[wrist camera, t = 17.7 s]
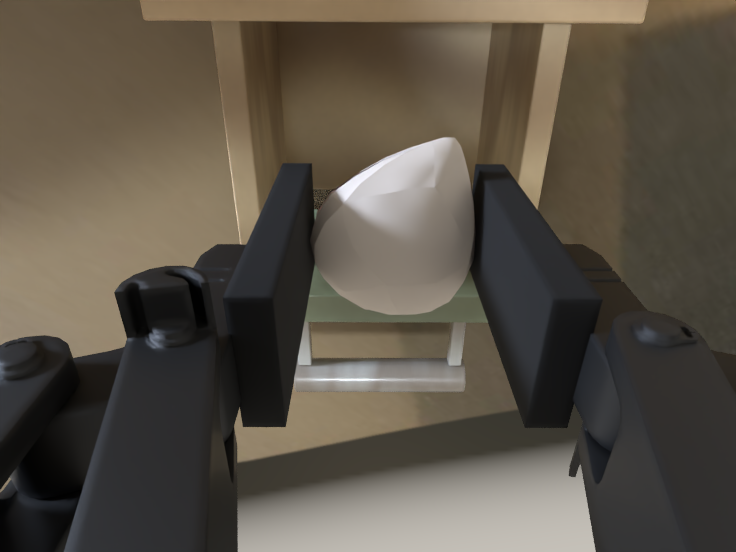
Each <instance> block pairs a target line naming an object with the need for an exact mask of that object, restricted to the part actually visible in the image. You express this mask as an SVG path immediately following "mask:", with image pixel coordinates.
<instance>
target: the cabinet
mask: <svg viewBox="0 0 736 552" xmlns="http://www.w3.org/2000/svg"><path fill="white" fill-rule="evenodd" d="M648 2H649V0H140V4H141V9H142V14H143V18H144V20H147V21H284V22H426V23H568V24H641V23H643V21H644V18H645V14H646V10H647V6H648Z"/></svg>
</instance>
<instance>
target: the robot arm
mask: <svg viewBox="0 0 736 552" xmlns="http://www.w3.org/2000/svg"><path fill="white" fill-rule="evenodd" d="M472 195H473V201H474V215H475V232H476V233H475V249H474V260H473V262H472V264H471V267H470V272H471V275H472V278H473V281H474V284H475V286H476V289H477V292H478V295H479V298H480V301H481V304H482V306H483V309H484V312H485V315H486V318H487V321H488V324H489V326H490V329H491V332H492V335H493V338H494V341H495V344H496V346H497V349H498V352H499V355H500V358H501V361H502V364H503V366H504V369H505V372H506V375H507V378H508V381H509V384H510V386H511V389H512V392H513V395H514V398H515V401H516V404H517V406H518V409H519V412H520V415H521V418H522V421H523V424H524V426H525V428H567V427H568V423H569V419H570V416H571V412H572V409H573V405H574V404H575V406H576V408H577V410H578V412H579V414H580V416H581V418H582V420H583V424H582V427H581V431H580V434H579V437H578V440H577V444H576V447H575V451H574V454H573V457H572V461H571V464H570V469H569V476H571V477H575V476H576V473H577V470H578V467H579V465H580V464H581V467H582V473H583V479H584V485H585V491H586V497H587V502H588V508H589V514H590V520H591V526H592V532H593V538H594V543H595V549H596V552H736V355H732V354H727V353H722V352H717V351H713V350H710V348H709V346H708V345H707V343H706V341H705V340H704V339H703V337H702V336H701V335H700V334H699V333H698V332H697V331H696V330H695V329H693V328H692V327H690V326H689V325H687V324H686V323H684V322H682V321H680V320H678V319H675V318H672V317H670V316H667V315H665V314H660V313H655V312H650V311H647V309H646V308H645V307H644V306H643V305H642V303H641V302H640V301H639V300H638V299H637V297H636V296H635V295H634V294H633V293H632V292H631V290H630V289H629V288H628V287H627V286H626V284H625V283H624V282H621V278H620V277H619V276H618V275H617V274H616V272H615V271H612V268H611V267H610V265H609V264H608V263H607V262H606V261H605V259H604V258H603V257H602V256H601V255H599V254H598V253H596V252H594V251H593V250H591V249H589V248H588V247H586V246H584V245H583V244H562V243H561V242H560V240H559V239H558V237H557V236H556V235H555V233H554V232H553V231H552V229H551V228H550V226H549V225H548V224H547V222H546V221H545V220H544V218H543V217H542V216H541V214H540V213H539V211H538V210H537V209H536V207H535V206H534V205H533V203H532V202H531V200H530V199H529V198H528V196H527V195H526V194H525V192H524V191H523V190H522V188H521V187H520V185H519V184H518V183H517V181H516V180H515V179H514V177H513V176H512V174H511V173H510V172H509V170H508V169H507V168H506V166H505V165H504V164H475V172H474V180H473V189H472ZM314 222H315V218H314V197H313V177H312V163H283V164H282V166H281V169H280V171H279V173H278V175H277V177H276V180H275V182H274V184H273V186H272V189H271V191H270V193H269V195H268V198H267V200H266V202H265V204H264V206H263V209H262V211H261V213H260V215H259V218H258V220H257V222H256V224H255V227H254V229H253V231H252V233H251V235H250V238H249V240H248V242H247V244H246V245H243V244H217V245H215V246H214V247H213V248H211V249H210V250H208V251H207V252H205V253H204V254H202V255H201V256H200V258H199V259H198V261H197V263H196V265H195V266H194V268H191V267H187V266H165V267H159V268H154V269H149V270H146V271H144V272H141V273H138V274H135V275H133V276H132V277H130V278H128V279H127V280H125V281H124V282H122V283H121V284H120V285H119V287H118V288H117V289H116V291H115V292H114V293H115V297H116V300H117V304H118V307H119V311H120V314H121V318H122V321H123V325H124V328H125V332H126V335H127V341H126V344H125V347H123V348H120V349H116V350H112V351H108V352H103V353H97V354H92V355H87V356H82V357H77V358H73V357H72V354H71V351H70V348H69V346H68V344H67V343H66V342H65V341H63V340H62V339H60V338H57V337H51V336H45V335H44V336H33V337H24V338H19V339H18V340H12V341H9V342H6V343H4V344H2V345H0V489H1V488H2V487H3V485H4V484H5V482H6V481H7V480H8V478H9V477H10V478H11V481H10V482H9V483H8V485H7V486H6V487H5V489H4V490H3V491H2V492H1V493H0V552H238V551H237V550H238V548H237V547H238V543H237V442H236V436H235V430H234V424H235V420H236V417H237V413H238V410H239V407H240V411H241V417H242V423H243V427H286V422H287V416H288V411H289V405H290V399H291V394H292V388H293V383H294V377H295V372H296V366H297V360H298V355H299V349H300V344H301V338H302V333H303V327H304V321H305V316H306V310H307V305H308V299H309V294H310V288H311V282H312V277H313V271H314V266H315V260H314V256H313V251H312V247H311V243H310V238H311V235H312V229H313V226H314Z"/></svg>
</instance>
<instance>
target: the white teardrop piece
mask: <svg viewBox="0 0 736 552" xmlns="http://www.w3.org/2000/svg"><path fill="white" fill-rule="evenodd" d="M475 233H476V232H475V215H474V201H473V195H472V189H471V183H470V178H469V174H468V170H467V165H466V161H465V158H464V154H463V151H462V147H461V145H460V144H459V143H458V141H457V140H456V139H455V138H450V137H443V138H440V139H436V140H433V141H430V142H427V143H423V144H420V145H417V146H414V147H411V148H408V149H405V150H403V151H400V152H398V153H395V154H393V155H390V156H388V157H385V158H383V159H381V160H380V161H378V162H376V163H374V164H373V165H371V166H369V167H367V168H365V169H364V170H362V171H360V172H359V173H357V174H356V175H354V176H352V177H351V178H350V179H348V180H347V181H345V182H344V183H342V184H341V185H339V186H338V187H336V188H335V189H334V190H332V191H331V192H330V193H329V195H328V196H327V198H326V199H325V201H324V202H323V204H322V205H321V206H320V208H319V209H318V211H317V215H316V218H315V222H314V226H313V229H312V235H311V238H310V243H311V247H312V251H313V256H314V260H315V264H316V266H317V268H318V270H319V271H320V273H321V275H322V276H323V278H324V279H325V280H326V281H327V282H328V283H329V284H330V286H331V287H332V288H333V289H334V290H335V291H336V292H337V293H338V294H339V295H341V296H342V297H344V298H346V299H347V300H349V301H351V302H353V303H354V304H356V305H358V306H359V307H361V308H363V309H365V310H372V311H376V312H380V313H384V314H388V315H412V314H421V313H426V312H431V311H433V310H435V309H436V308H438V307H440V306H442V305H444V304H446V303H448V302H450V300H451V299H452V297H453V296H454V295H455V293H456V292H457V291H458V289H459V288H460V287H461V285H462V284H463V282H464V280H465V278H466V276H467V273H468V271H469V269H470V267H471V264H472V262H473V260H474V249H475Z"/></svg>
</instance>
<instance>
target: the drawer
mask: <svg viewBox="0 0 736 552" xmlns="http://www.w3.org/2000/svg"><path fill="white" fill-rule="evenodd" d="M211 25H212V32H213V40H214V47H215V55H216V63H217V70H218V78H219V85H220V93H221V101H222V108H223V116H224V123H225V131H226V139H227V146H228V154H229V161H230V169H231V177H232V184H233V192H234V199H235V207H236V214H237V222H238V230H239V237H240V244H243V245H246V244H247V242H248V240H249V238H250V235H251V233H252V231H253V229H254V227H255V224H256V222H257V220H258V218H259V215H260V213H261V211H262V209H263V206H264V204H265V202H266V200H267V198H268V195H269V193H270V191H271V189H272V186H273V184H274V182H275V180H276V177H277V175H278V173H279V171H280V169H281V166H282V164H283V163H312V177H313V190H334V189H335V188H336V187H338V186H339V185H341V184H342V183H344V182H345V181H347V180H348V179H350V178H351V177H352V176H354V175H356V174H357V173H359V172H360V171H362V170H364V169H365V168H367V167H369V166H371V165H373V164H374V163H376V162H378V161H380V160H381V159H383V158H385V157H388V156H390V155H393V154H395V153H398V152H400V151H403V150H405V149H408V148H411V147H414V146H417V145H420V144H423V143H427V142H430V141H433V140H436V139H440V138H443V137H450V138H455V139H456V140H457V141H458V143H459V144H460V145H461V147H462V151H463V154H464V158H465V161H466V165H467V170H468V174H469V178H470V183H471V189H473V180H474V172H475V164H504V165H505V166H506V168H507V169H508V170H509V172H510V173H511V174H512V176H513V177H514V179H515V180H516V181H517V183H518V184H519V185H520V187H521V188H522V190H523V191H524V192H525V194H526V195H527V196H528V198H529V199H530V200H531V202H532V203H533V205H534V206H535V207H536V209H537V210H538V204H539V199H540V193H541V188H542V183H543V177H544V172H545V166H546V161H547V156H548V150H549V145H550V139H551V134H552V129H553V123H554V118H555V112H556V107H557V102H558V96H559V91H560V85H561V80H562V75H563V69H564V64H565V58H566V53H567V48H568V42H569V37H570V31H571V26H572V24H568V23H426V22H284V21H211ZM317 211H318V209H314V218H316V215H317ZM310 322H451V324H450V333H449V342H448V352H447V358H312V342H311V326H310ZM466 323H488V321H487V318H486V315H485V312H484V309H483V306H482V304H481V301H480V298H479V295H478V292H477V289H476V286H475V284H474V281H473V278H472V275H471V272H470V269H469V271H468V273H467V276H466V278H465V280H464V282H463V284H462V285H461V287H460V288H459V289H458V291H457V292H456V293H455V295H454V296H453V297H452V299H451V300H450V302H448V303H446V304H444V305H442V306H440V307H438V308H436V309H435V310H433V311H431V312H426V313H421V314H412V315H388V314H384V313H380V312H376V311H372V310H365V309H363V308H361V307H359V306H358V305H356V304H354V303H353V302H351V301H349V300H347V299H346V298H344V297H342V296H341V295H339V294H338V293H337V292H336V291H335V290H334V289H333V288H332V287H331V286H330V284H329V283H328V282H327V281H326V280H325V279H324V278H323V276H322V275H321V273H320V271H319V270H318V268H317V266H316V264H315V266H314V271H313V277H312V282H311V288H310V294H309V299H308V305H307V310H306V316H305V321H304V327H303V333H302V338H301V344H300V349H299V355H298V360H297V366H296V372H295V377H294V387H295V391H297V392H463V391H464V389H465V381H466V375H465V365H464V361H463V359H462V352H463V344H464V336H465V328H466Z"/></svg>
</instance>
